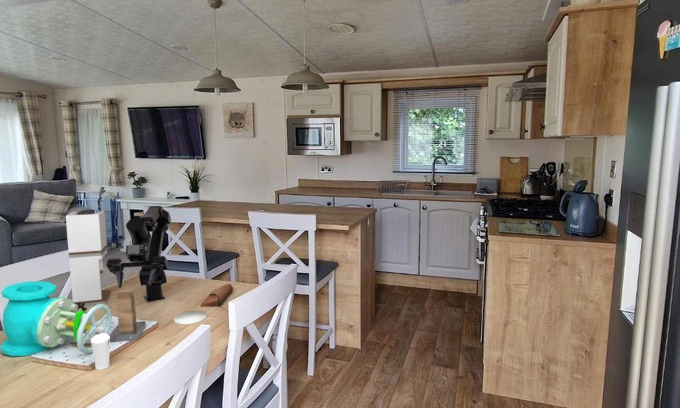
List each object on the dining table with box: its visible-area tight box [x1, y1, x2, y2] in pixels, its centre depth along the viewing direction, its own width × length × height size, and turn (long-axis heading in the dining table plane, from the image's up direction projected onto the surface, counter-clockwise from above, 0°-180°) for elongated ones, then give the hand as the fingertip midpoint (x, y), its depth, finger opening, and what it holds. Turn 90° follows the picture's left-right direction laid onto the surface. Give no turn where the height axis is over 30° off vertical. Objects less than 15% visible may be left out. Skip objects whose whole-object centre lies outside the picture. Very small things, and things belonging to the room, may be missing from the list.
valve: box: [0, 280, 113, 357], centre depth 121 cm, size 14×18×30 cm
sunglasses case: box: [199, 283, 234, 308], centre depth 164 cm, size 18×7×7 cm
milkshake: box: [87, 331, 111, 371], centre depth 111 cm, size 5×5×10 cm
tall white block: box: [65, 210, 112, 307], centre depth 160 cm, size 11×11×35 cm
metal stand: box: [108, 320, 147, 343], centre depth 132 cm, size 10×8×2 cm
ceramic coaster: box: [173, 310, 208, 326], centre depth 145 cm, size 11×11×1 cm
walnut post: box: [116, 289, 137, 331], centre depth 131 cm, size 4×4×12 cm
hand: (134, 286), depth 139 cm, fingers open, 9 cm apart
